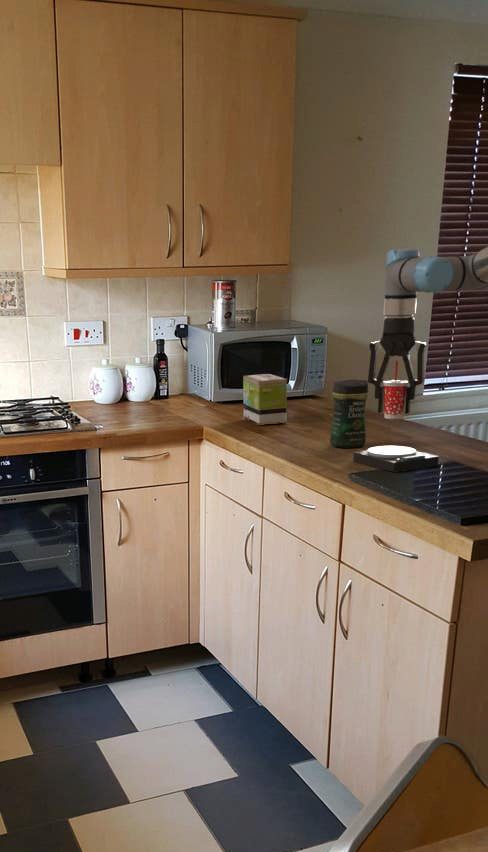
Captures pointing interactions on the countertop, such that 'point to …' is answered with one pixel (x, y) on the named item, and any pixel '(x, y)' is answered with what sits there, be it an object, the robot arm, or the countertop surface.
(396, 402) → the beverage cup
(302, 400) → the countertop surface
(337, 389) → the coffee jar
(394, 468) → the kitchen scale
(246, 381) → the tea box
